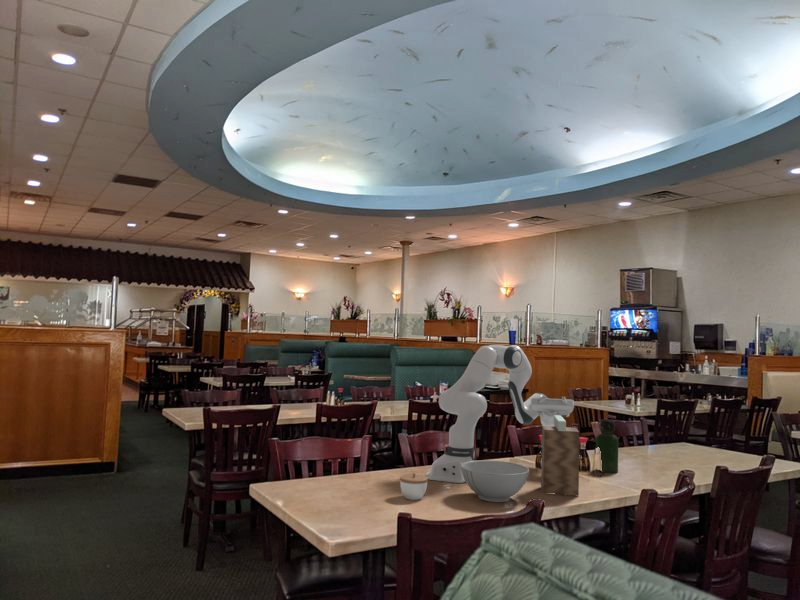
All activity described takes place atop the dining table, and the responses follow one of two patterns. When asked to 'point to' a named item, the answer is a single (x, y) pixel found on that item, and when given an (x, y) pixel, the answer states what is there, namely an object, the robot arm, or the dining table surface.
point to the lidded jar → (413, 486)
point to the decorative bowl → (494, 479)
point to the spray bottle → (608, 446)
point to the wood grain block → (560, 461)
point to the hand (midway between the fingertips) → (553, 397)
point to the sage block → (559, 423)
